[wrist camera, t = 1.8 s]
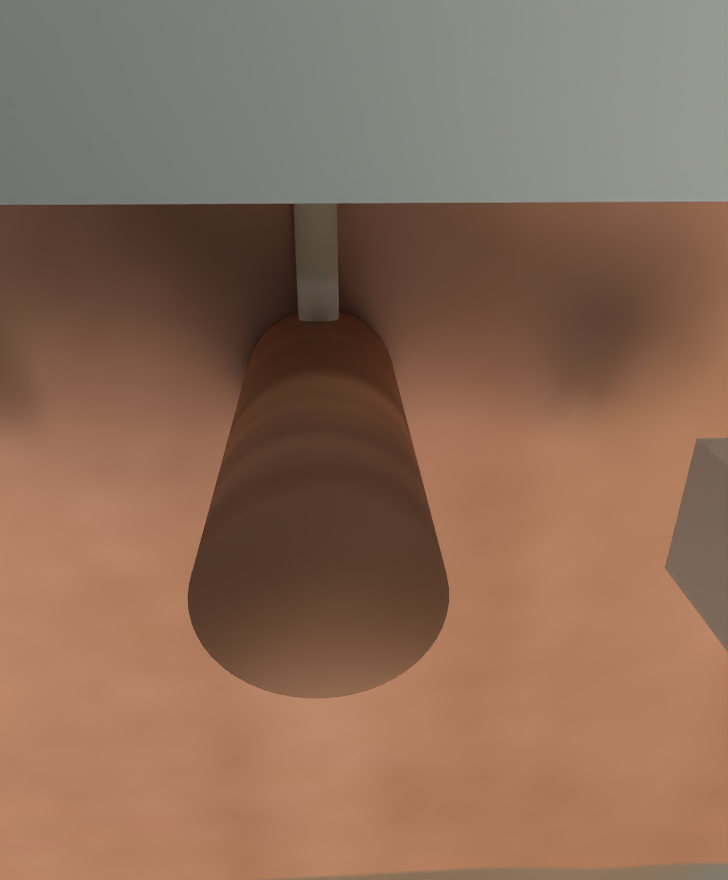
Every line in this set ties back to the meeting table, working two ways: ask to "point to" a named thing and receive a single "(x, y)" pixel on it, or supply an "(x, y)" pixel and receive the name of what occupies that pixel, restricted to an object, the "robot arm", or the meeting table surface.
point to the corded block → (318, 506)
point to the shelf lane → (362, 101)
